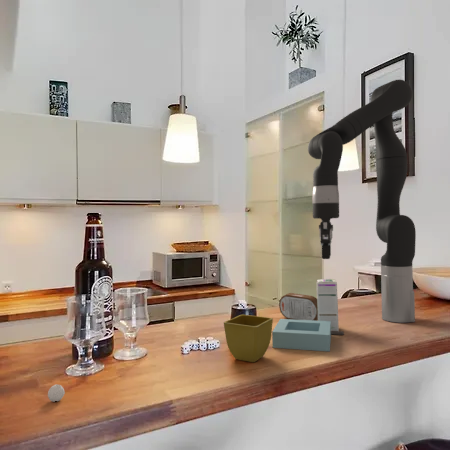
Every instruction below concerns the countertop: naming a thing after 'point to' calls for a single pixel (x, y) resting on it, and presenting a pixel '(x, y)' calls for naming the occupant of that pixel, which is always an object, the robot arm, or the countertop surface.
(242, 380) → the countertop surface
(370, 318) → the countertop surface
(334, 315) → the syrup box
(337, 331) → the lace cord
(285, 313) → the tin
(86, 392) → the countertop surface
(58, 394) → the grey ball
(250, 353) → the flower pot
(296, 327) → the teal square holder
